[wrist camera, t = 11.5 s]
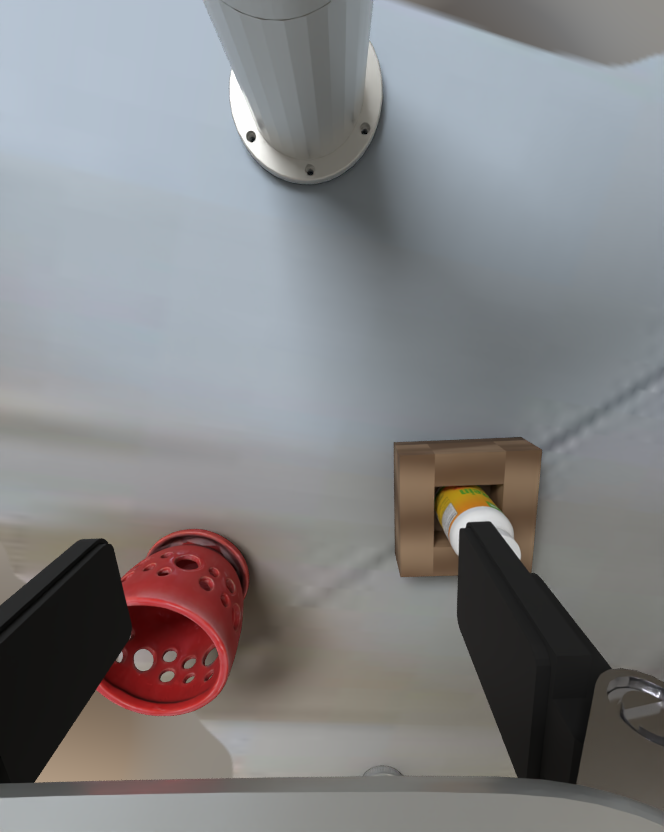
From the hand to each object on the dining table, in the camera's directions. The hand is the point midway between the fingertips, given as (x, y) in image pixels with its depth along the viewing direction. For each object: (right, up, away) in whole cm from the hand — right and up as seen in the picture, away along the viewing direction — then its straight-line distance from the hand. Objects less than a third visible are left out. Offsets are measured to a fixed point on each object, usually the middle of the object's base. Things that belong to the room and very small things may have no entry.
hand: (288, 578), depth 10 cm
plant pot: (-14, -13, +33) cm, 38 cm away
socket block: (+14, -4, +29) cm, 33 cm away
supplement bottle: (+14, -4, +29) cm, 32 cm away
